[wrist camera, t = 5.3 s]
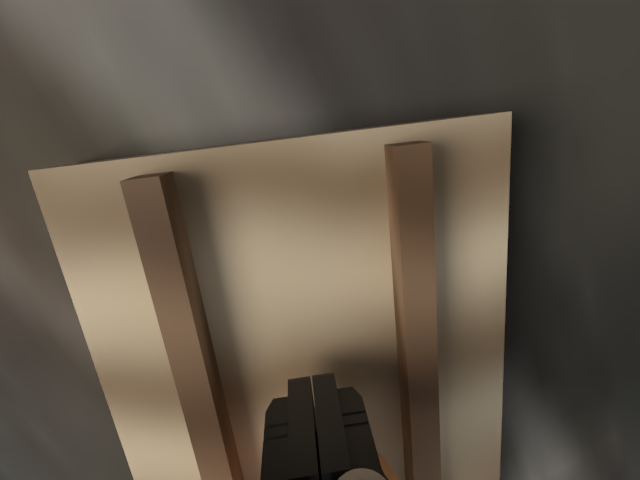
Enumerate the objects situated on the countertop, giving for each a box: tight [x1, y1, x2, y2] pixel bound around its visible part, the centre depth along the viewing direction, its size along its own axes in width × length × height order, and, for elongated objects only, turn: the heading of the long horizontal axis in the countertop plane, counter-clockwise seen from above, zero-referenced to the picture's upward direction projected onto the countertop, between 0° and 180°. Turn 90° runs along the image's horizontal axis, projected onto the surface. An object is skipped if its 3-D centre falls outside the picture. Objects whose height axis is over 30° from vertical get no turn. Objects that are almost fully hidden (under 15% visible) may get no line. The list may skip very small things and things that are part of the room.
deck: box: [28, 111, 512, 480], centre depth 15 cm, size 24×14×4 cm, turn 7°
